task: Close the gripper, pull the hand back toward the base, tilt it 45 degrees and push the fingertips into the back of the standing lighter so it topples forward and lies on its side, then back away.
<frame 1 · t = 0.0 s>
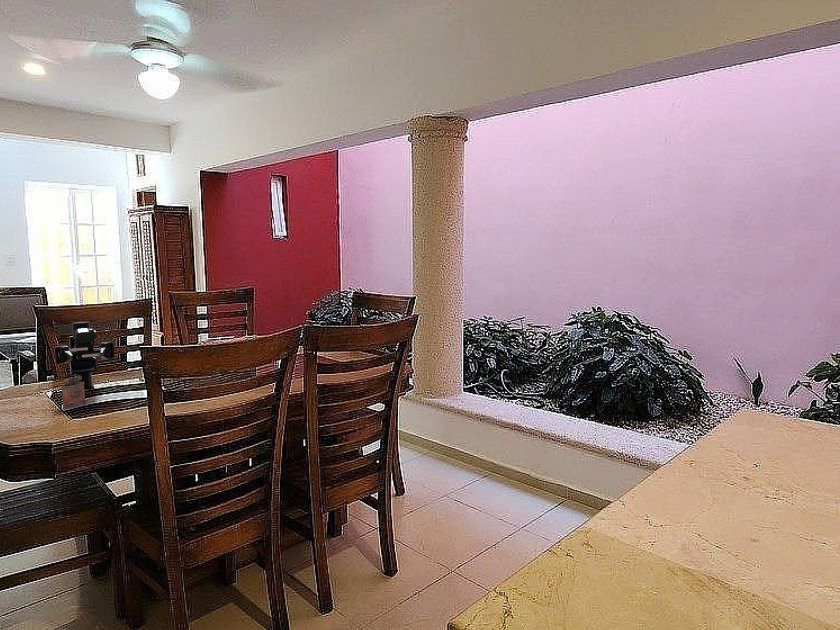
hand: (86, 355, 203), 17 cm above the table, tool horizontal, fingers open, 9 cm apart
lighter: (74, 405, 200), on the table
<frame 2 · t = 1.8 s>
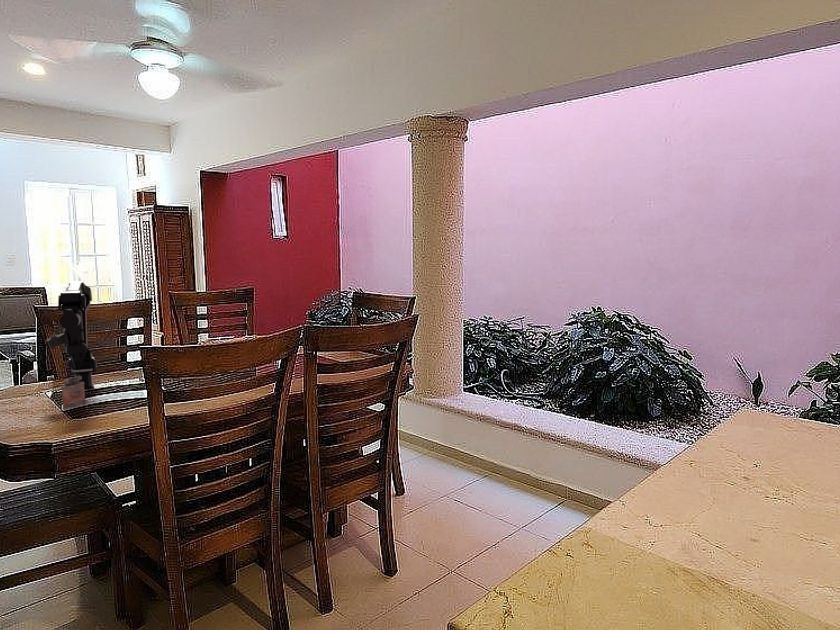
hand: (76, 368, 208), 11 cm above the table, tool pointing down, fingers open, 5 cm apart
nothing on the table moved.
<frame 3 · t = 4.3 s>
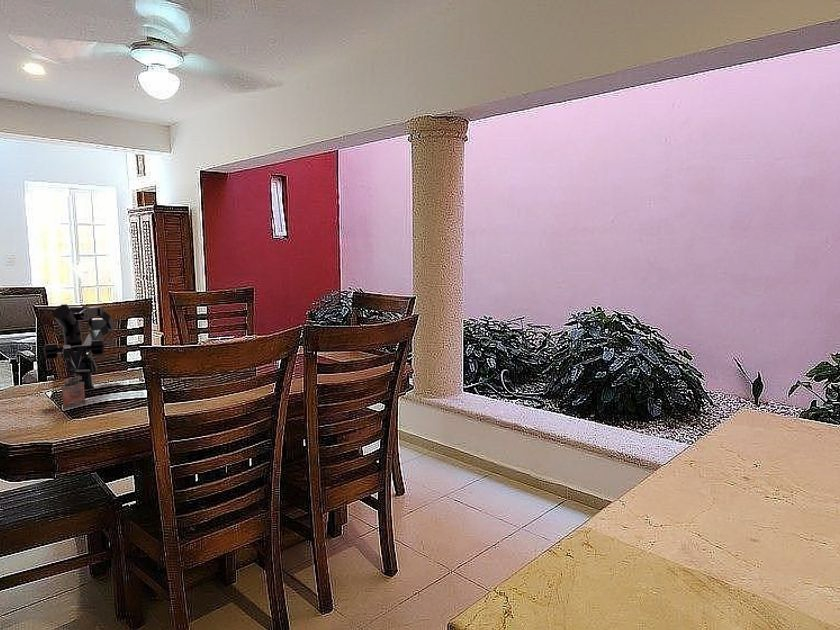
hand: (76, 367, 207), 12 cm above the table, tool tilted 45°, fingers closed
nothing on the table moved.
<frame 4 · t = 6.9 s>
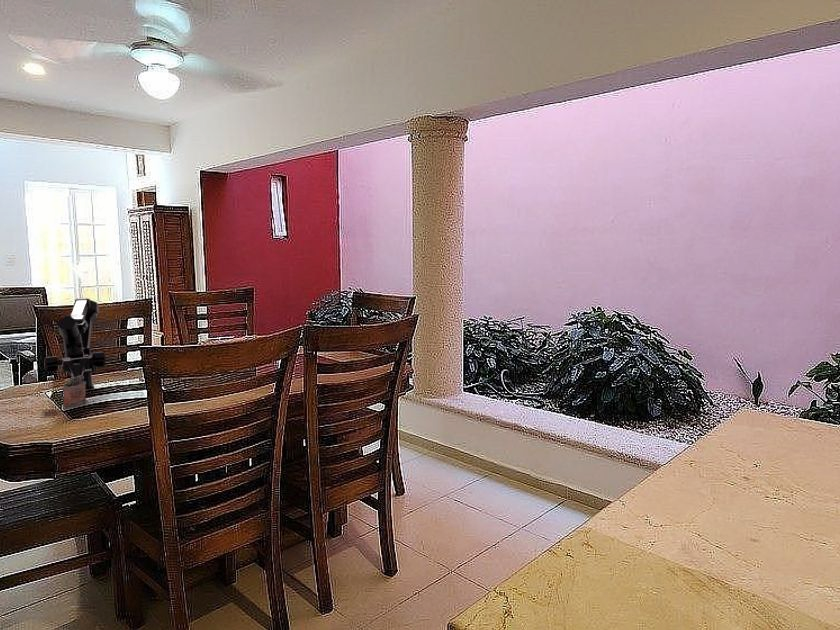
hand: (78, 380, 201), 8 cm above the table, tool tilted 45°, fingers closed
lighter: (74, 404, 200), on the table, touching gripper
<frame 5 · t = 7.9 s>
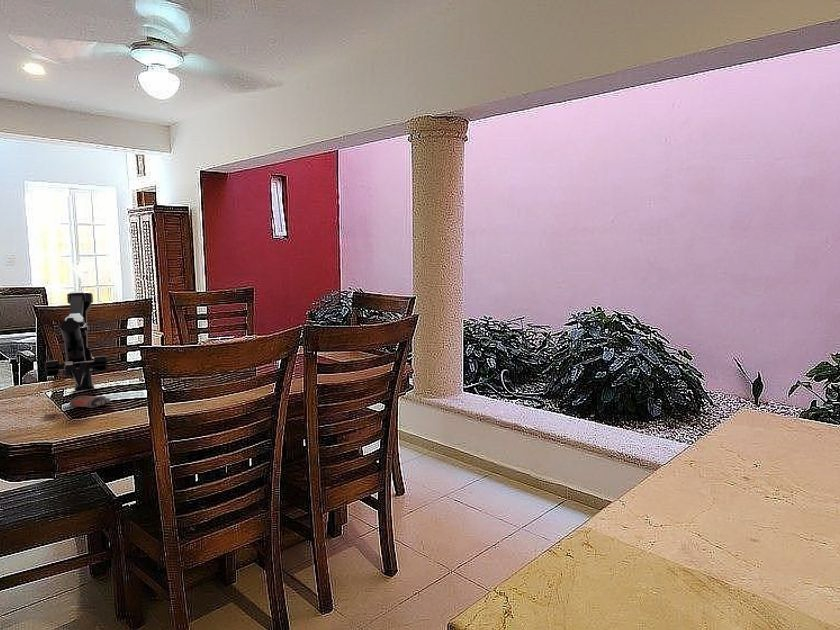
hand: (79, 385, 197), 8 cm above the table, tool tilted 45°, fingers closed
lighter: (78, 401, 199), point 2 cm above the table
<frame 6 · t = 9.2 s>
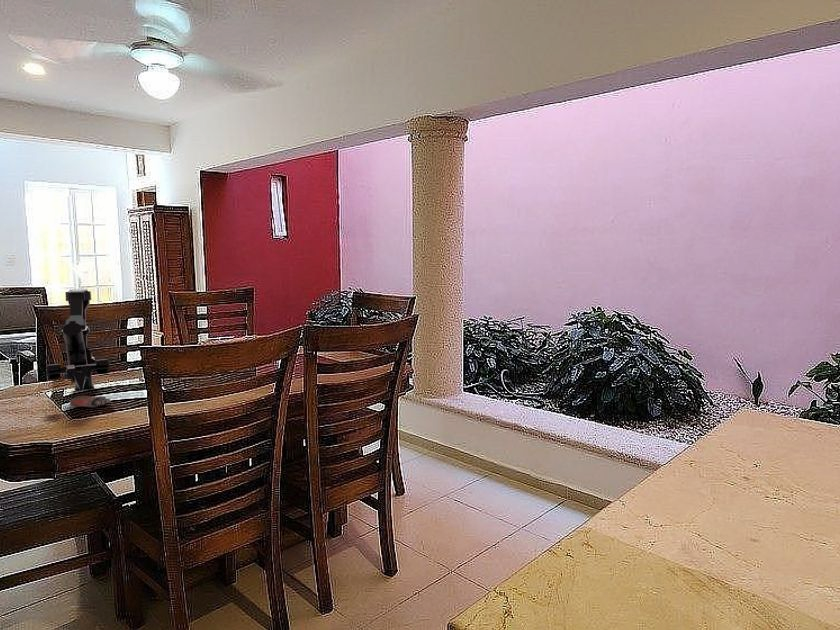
hand: (81, 389, 195), 7 cm above the table, tool tilted 45°, fingers closed
nothing on the table moved.
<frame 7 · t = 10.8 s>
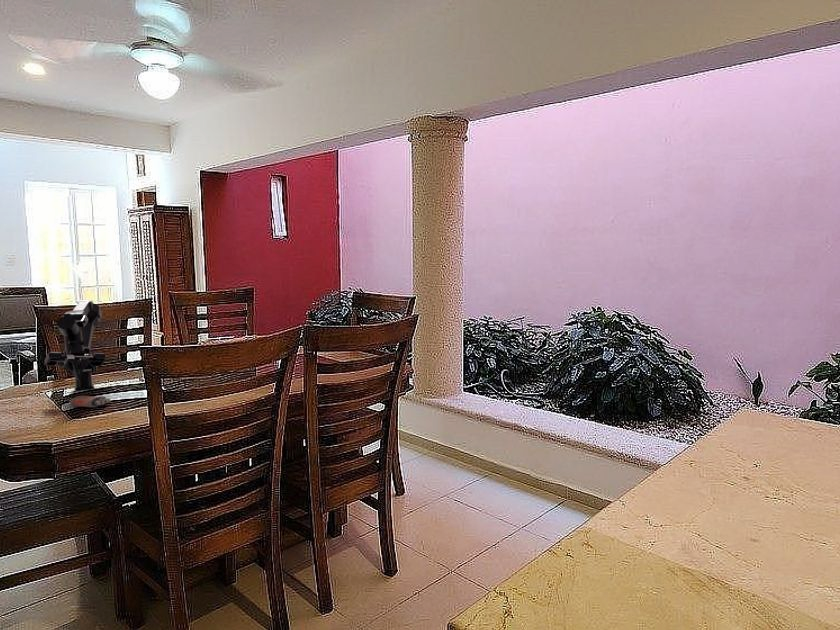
hand: (78, 379, 205), 8 cm above the table, tool tilted 40°, fingers closed
nothing on the table moved.
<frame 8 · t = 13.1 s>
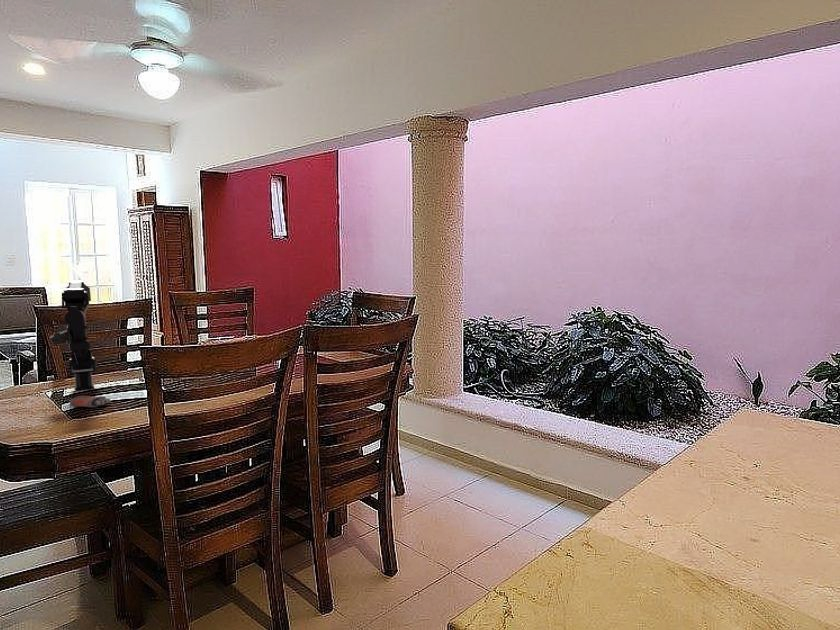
hand: (79, 365, 208), 12 cm above the table, tool pointing down, fingers closed
nothing on the table moved.
at the end: lighter tilted 90°; lighter inside the target area (1.7 cm from its centre), point 1.7 cm above the table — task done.
